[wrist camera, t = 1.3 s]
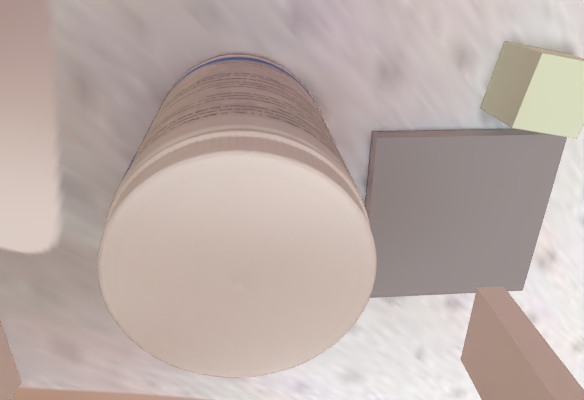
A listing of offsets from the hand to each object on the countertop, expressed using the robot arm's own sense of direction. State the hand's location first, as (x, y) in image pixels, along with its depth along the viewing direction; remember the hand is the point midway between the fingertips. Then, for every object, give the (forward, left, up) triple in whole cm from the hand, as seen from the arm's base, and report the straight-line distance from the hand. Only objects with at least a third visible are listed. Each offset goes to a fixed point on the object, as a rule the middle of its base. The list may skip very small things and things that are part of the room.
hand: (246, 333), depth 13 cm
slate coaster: (+14, -6, -17) cm, 23 cm away
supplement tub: (0, 0, -17) cm, 17 cm away
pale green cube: (+17, +3, -17) cm, 24 cm away
